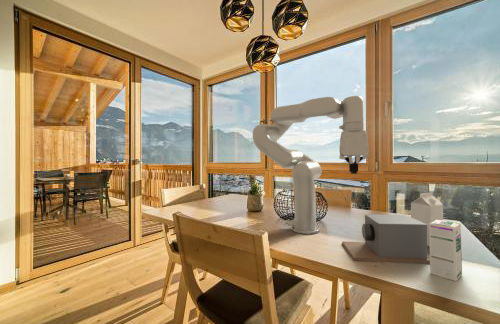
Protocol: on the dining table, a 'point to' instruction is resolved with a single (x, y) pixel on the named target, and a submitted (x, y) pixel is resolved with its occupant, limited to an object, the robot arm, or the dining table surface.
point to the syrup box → (445, 249)
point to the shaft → (368, 232)
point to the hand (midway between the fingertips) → (353, 173)
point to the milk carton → (427, 210)
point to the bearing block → (392, 240)
